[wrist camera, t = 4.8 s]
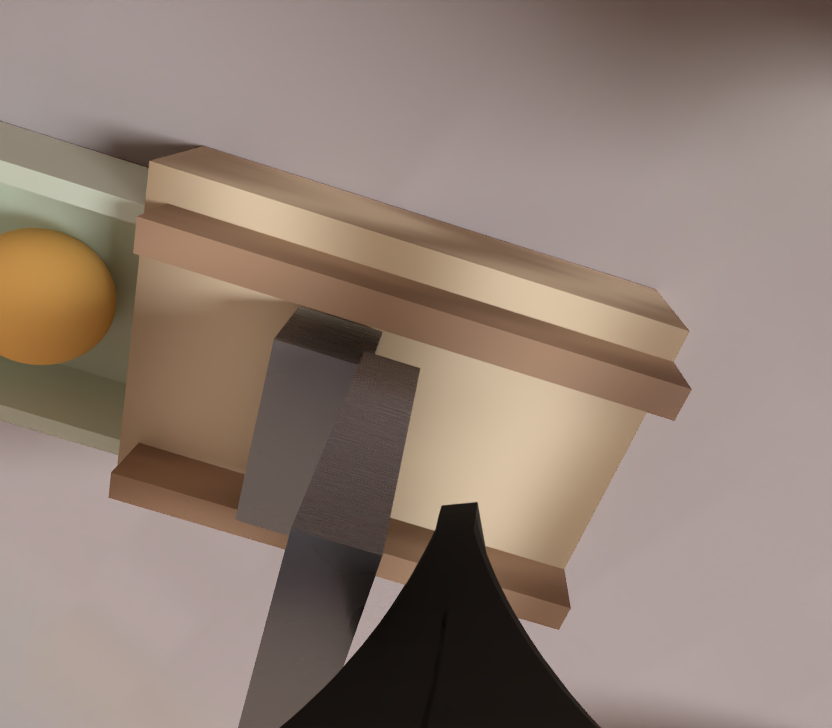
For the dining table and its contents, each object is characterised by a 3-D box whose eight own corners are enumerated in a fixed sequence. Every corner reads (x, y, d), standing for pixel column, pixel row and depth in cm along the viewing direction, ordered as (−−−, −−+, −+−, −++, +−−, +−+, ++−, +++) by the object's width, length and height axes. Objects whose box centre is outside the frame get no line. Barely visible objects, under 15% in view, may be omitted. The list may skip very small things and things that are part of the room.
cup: (198, 183, 17) (144, 205, 14) (167, 402, 20) (118, 455, 17) (-41, 108, 17) (-143, 115, 14) (-37, 341, 20) (-119, 384, 17)
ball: (132, 226, 18) (107, 272, 15) (121, 337, 19) (96, 399, 16) (-13, 197, 17) (-71, 241, 14) (-12, 317, 18) (-65, 380, 15)
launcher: (656, 289, 17) (709, 356, 13) (534, 539, 21) (547, 650, 17) (203, 145, 17) (115, 169, 13) (164, 429, 20) (87, 515, 16)
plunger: (426, 336, 15) (382, 556, 8) (369, 509, 17) (297, 792, 10) (301, 297, 15) (151, 487, 8) (260, 477, 17) (116, 742, 10)
